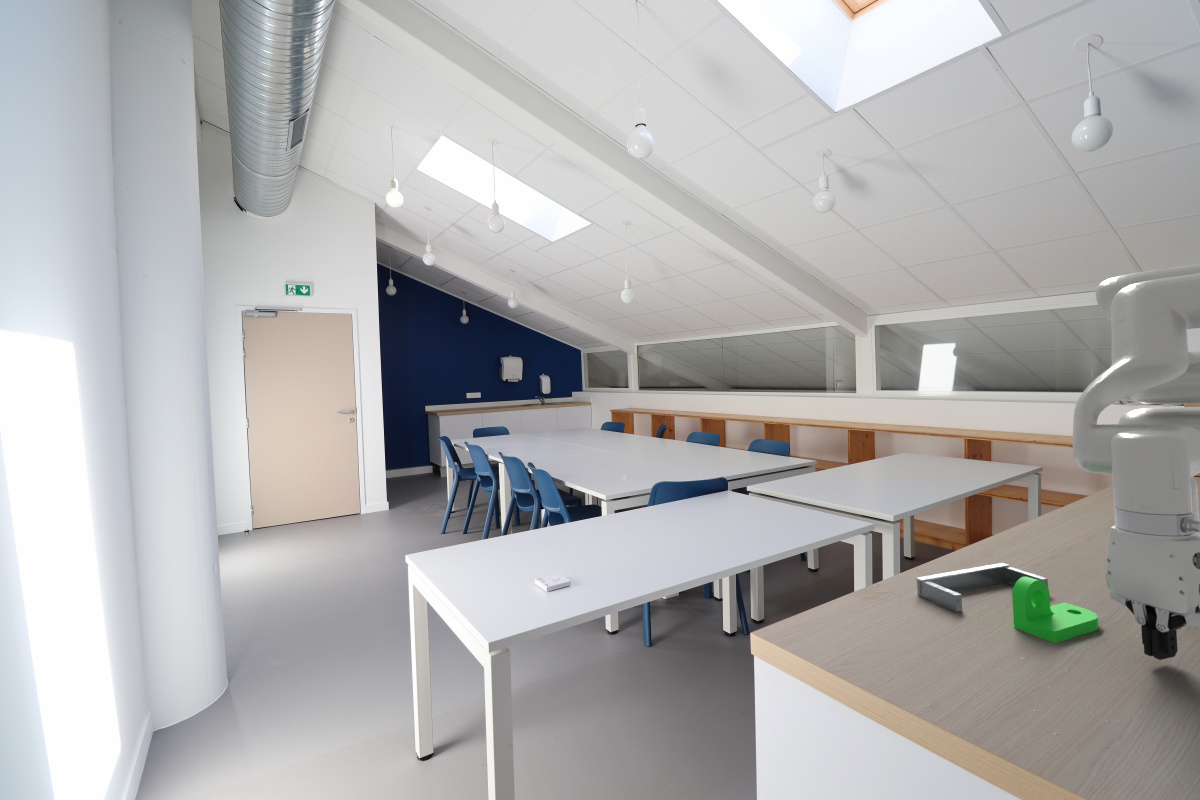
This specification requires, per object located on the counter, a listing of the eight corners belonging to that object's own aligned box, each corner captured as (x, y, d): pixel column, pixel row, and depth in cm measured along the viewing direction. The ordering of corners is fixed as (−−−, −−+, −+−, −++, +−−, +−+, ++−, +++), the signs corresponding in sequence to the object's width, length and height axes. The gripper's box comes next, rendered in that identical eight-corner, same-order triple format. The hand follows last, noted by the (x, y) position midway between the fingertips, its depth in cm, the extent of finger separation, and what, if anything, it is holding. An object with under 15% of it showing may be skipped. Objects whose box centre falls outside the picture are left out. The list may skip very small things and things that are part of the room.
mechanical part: (1055, 644, 82) (1052, 592, 82) (1014, 628, 88) (1011, 579, 88) (1107, 628, 86) (1105, 577, 86) (1065, 614, 92) (1062, 566, 92)
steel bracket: (1003, 579, 108) (1002, 562, 108) (1048, 594, 99) (1047, 576, 99) (917, 594, 103) (916, 577, 103) (956, 612, 95) (955, 593, 95)
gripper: (1248, 531, 68) (1255, 677, 68) (1111, 508, 82) (1118, 628, 83) (1203, 539, 66) (1211, 689, 66) (1072, 514, 81) (1079, 637, 81)
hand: (1160, 655), depth 75 cm, fingers closed
